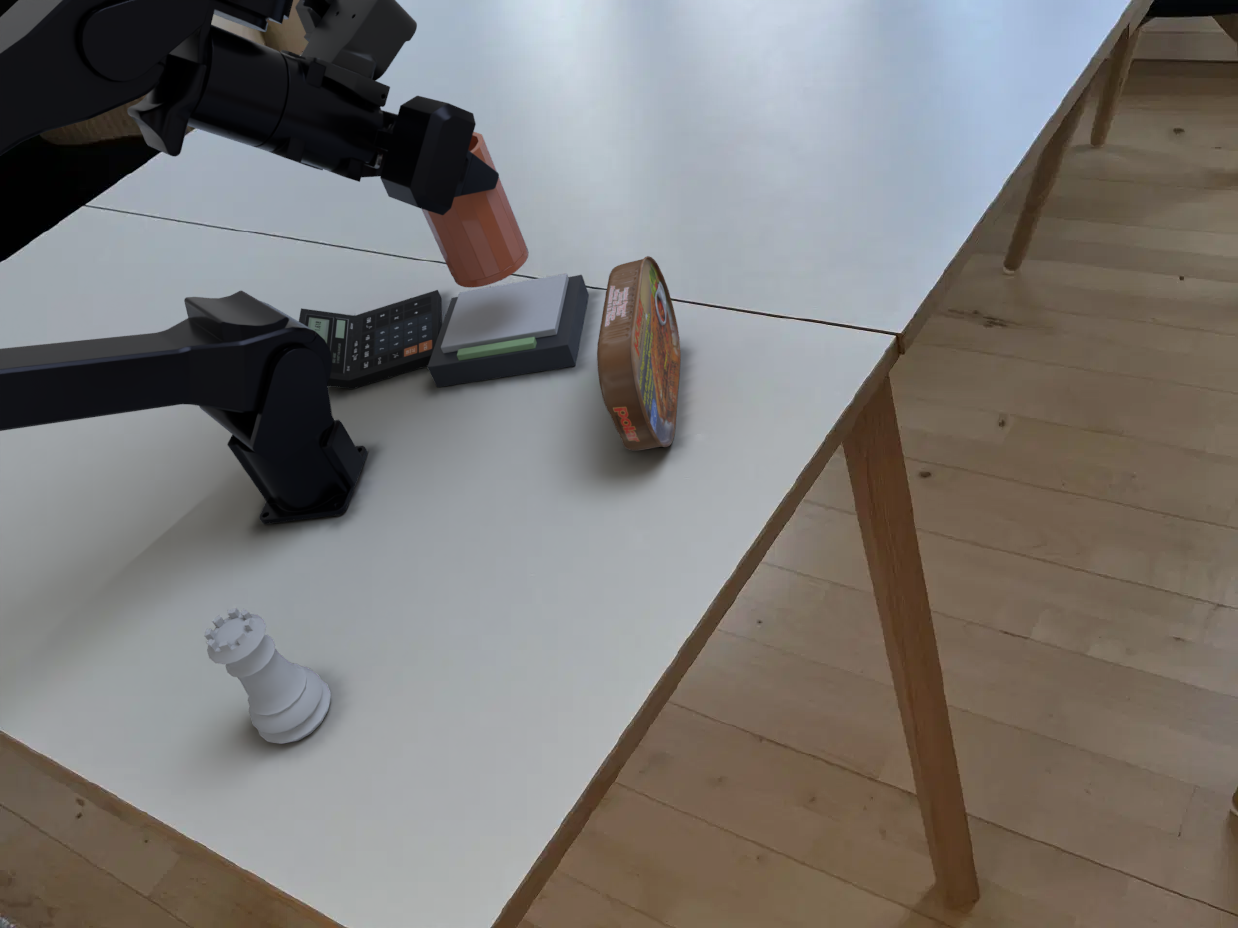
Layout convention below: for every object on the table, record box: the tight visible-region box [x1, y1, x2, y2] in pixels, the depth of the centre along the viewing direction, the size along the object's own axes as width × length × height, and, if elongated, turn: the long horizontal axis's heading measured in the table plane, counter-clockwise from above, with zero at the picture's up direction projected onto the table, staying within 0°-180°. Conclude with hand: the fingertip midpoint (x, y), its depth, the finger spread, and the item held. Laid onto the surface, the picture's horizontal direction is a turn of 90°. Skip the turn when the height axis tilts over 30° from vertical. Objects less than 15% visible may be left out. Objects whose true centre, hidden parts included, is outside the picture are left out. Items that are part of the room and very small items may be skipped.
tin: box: [596, 255, 682, 452], centre depth 70 cm, size 15×3×8 cm, turn 174°
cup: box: [421, 131, 529, 288], centre depth 75 cm, size 6×6×9 cm
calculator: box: [298, 289, 443, 390], centre depth 86 cm, size 9×12×3 cm
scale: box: [427, 273, 590, 388], centre depth 82 cm, size 11×9×3 cm
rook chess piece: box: [204, 607, 332, 744], centre depth 58 cm, size 4×4×8 cm
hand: (470, 173), depth 74 cm, fingers closed on cup, 6 cm apart
